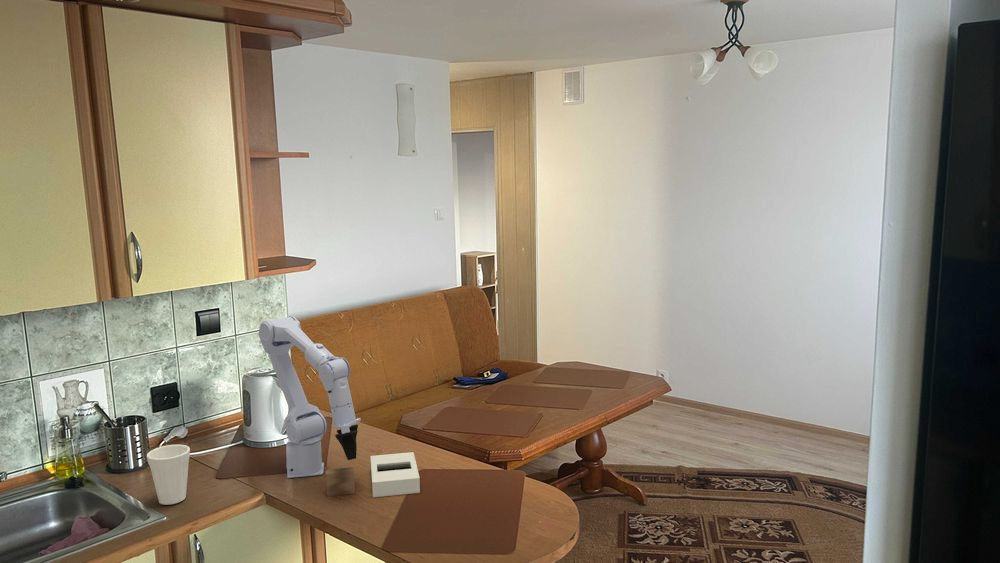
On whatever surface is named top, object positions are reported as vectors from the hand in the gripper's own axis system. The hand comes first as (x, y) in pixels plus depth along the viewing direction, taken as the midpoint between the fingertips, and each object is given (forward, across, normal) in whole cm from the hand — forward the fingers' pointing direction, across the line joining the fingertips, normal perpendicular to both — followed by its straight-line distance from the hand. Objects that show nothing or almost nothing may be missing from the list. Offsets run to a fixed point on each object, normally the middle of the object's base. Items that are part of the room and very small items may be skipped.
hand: (352, 456), depth 183 cm
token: (+8, +1, +5) cm, 10 cm away
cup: (+1, +6, +46) cm, 46 cm away
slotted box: (+10, +5, -9) cm, 14 cm away
